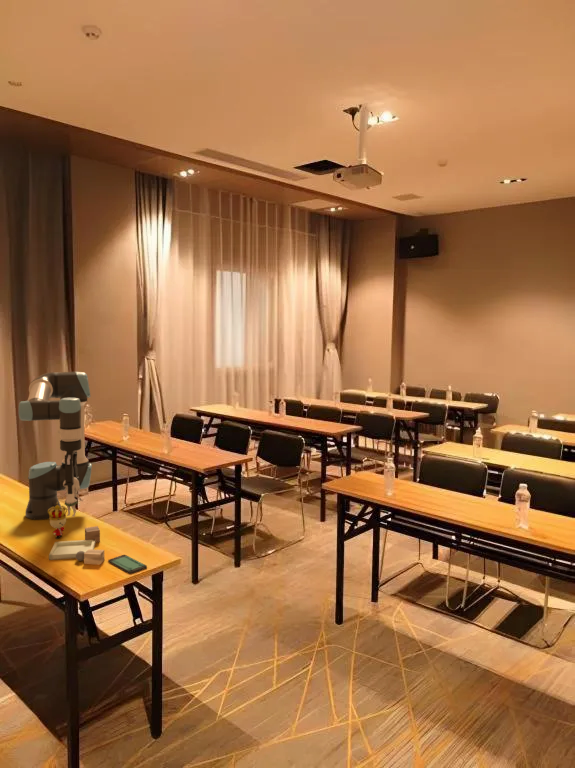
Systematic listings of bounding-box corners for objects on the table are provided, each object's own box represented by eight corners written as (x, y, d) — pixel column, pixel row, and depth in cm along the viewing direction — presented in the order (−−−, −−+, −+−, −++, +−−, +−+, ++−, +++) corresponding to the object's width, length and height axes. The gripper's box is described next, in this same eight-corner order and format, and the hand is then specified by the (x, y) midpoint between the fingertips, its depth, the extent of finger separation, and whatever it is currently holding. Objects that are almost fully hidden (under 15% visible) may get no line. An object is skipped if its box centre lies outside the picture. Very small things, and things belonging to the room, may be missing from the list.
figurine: (55, 515, 216) (54, 477, 215) (66, 511, 222) (66, 473, 221) (77, 519, 213) (77, 480, 211) (88, 514, 219) (88, 476, 217)
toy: (60, 541, 229) (60, 505, 227) (44, 539, 230) (43, 503, 228) (71, 535, 236) (70, 499, 234) (55, 533, 237) (54, 498, 235)
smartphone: (124, 553, 216) (147, 565, 206) (124, 557, 216) (147, 568, 206) (107, 559, 211) (129, 571, 201) (107, 562, 211) (129, 575, 201)
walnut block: (85, 539, 231) (84, 527, 231) (97, 537, 233) (97, 526, 233) (86, 544, 227) (86, 532, 226) (100, 542, 229) (99, 530, 228)
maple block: (88, 559, 213) (88, 549, 212) (104, 560, 212) (104, 550, 212) (84, 564, 209) (84, 553, 208) (100, 564, 208) (100, 554, 208)
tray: (55, 546, 224) (55, 541, 224) (95, 543, 227) (95, 539, 227) (49, 559, 211) (48, 555, 211) (91, 557, 214) (91, 552, 214)
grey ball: (76, 558, 212) (76, 549, 212) (86, 558, 213) (86, 549, 213) (75, 562, 209) (75, 553, 209) (85, 562, 210) (85, 552, 209)
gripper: (64, 434, 223) (65, 492, 225) (55, 444, 204) (57, 507, 207) (84, 433, 224) (85, 491, 227) (77, 444, 206) (78, 506, 208)
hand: (71, 498), depth 217 cm, fingers closed on figurine, 6 cm apart
